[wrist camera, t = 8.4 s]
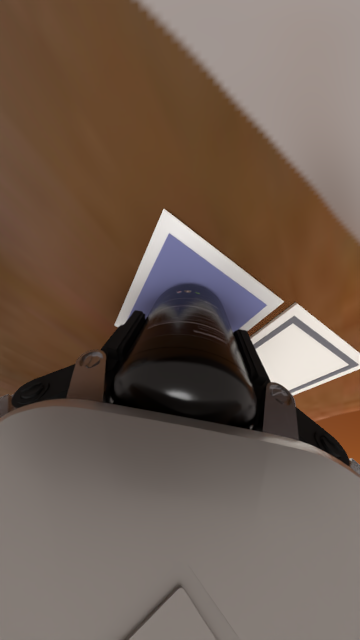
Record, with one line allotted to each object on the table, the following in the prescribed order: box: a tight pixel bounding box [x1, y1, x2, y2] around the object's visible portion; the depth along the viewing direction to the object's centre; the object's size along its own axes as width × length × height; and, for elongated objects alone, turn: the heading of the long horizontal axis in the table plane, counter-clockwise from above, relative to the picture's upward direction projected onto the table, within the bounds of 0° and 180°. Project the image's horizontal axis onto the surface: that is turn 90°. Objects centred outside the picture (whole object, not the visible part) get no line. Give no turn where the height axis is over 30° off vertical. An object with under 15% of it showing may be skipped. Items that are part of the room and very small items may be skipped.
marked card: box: [250, 302, 360, 396], centre depth 17 cm, size 13×13×1 cm
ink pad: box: [114, 209, 284, 333], centre depth 14 cm, size 12×12×1 cm
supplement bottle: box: [108, 284, 258, 430], centre depth 8 cm, size 7×7×12 cm
